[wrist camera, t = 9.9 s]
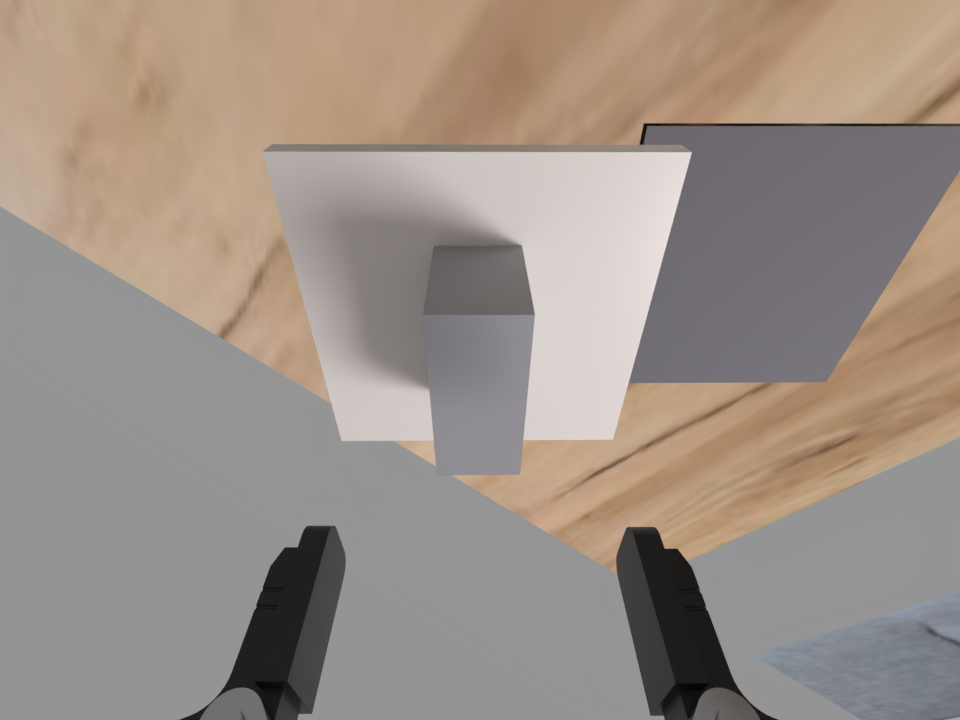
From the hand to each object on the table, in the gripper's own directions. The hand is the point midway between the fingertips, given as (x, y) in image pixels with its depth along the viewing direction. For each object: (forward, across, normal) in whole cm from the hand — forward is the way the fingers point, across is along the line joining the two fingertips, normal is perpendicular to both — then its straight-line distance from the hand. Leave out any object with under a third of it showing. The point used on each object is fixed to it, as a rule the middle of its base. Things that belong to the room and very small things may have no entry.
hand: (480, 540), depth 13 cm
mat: (+17, -16, +1) cm, 24 cm away
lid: (+11, 0, 0) cm, 11 cm away
